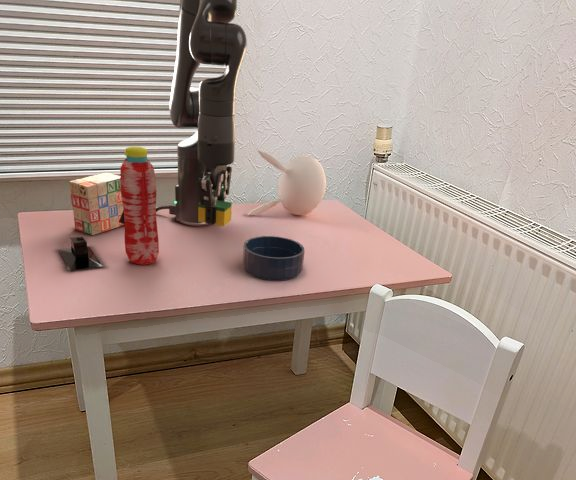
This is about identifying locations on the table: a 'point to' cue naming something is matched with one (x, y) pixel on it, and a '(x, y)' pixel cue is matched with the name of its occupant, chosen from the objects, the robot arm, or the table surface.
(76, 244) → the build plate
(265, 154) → the stuffed toy
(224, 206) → the sponge
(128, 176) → the water bottle
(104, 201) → the stack of blocks
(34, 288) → the table surface
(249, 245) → the bowl
